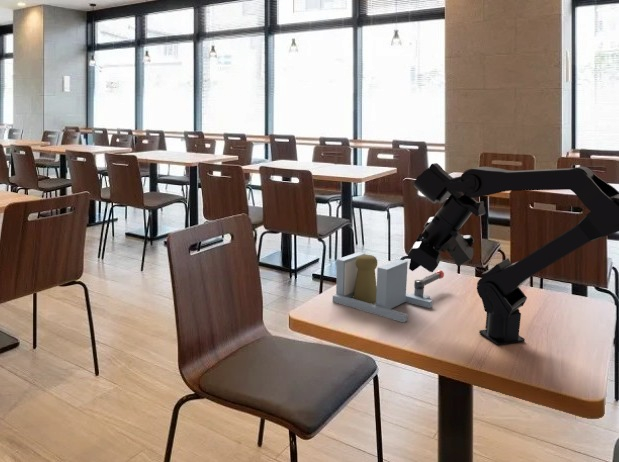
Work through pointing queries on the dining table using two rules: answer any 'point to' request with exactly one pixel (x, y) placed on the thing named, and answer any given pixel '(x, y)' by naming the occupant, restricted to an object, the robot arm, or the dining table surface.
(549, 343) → the dining table surface
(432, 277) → the lock handle
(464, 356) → the dining table surface
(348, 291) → the vise bed
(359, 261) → the cork
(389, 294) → the block
